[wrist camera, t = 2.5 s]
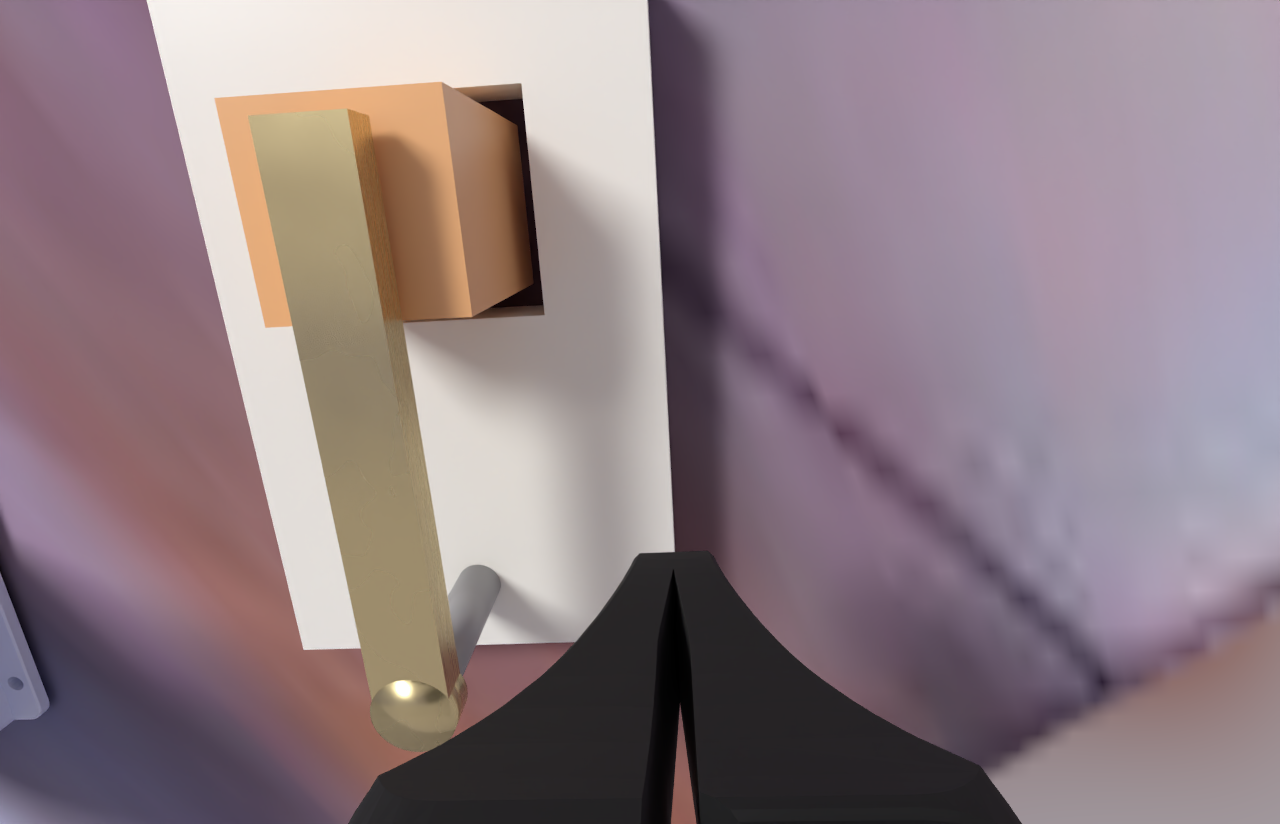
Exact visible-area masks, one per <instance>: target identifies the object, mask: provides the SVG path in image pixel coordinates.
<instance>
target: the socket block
mask: <svg viewBox="0 0 1280 824" xmlns="http://www.w3.org/2000/svg"><path fill="white" fill-rule="evenodd" d="M147 3H148V7H149V11H150V16H151V20H152V24H153V28H154V32H155V36H156V40H157V45H158V49H159V53H160V57H161V61H162V65H163V69H164V74H165V78H166V82H167V86H168V90H169V94H170V98H171V103H172V107H173V111H174V115H175V119H176V123H177V127H178V132H179V136H180V140H181V144H182V148H183V152H184V156H185V160H186V165H187V169H188V173H189V177H190V181H191V185H192V189H193V194H194V198H195V202H196V206H197V210H198V214H199V218H200V223H201V227H202V231H203V235H204V239H205V243H206V247H207V252H208V256H209V260H210V264H211V268H212V272H213V276H214V281H215V285H216V289H217V293H218V297H219V301H220V305H221V310H222V314H223V318H224V322H225V326H226V330H227V334H228V339H229V343H230V347H231V351H232V355H233V359H234V363H235V367H236V372H237V376H238V380H239V384H240V388H241V392H242V396H243V401H244V405H245V409H246V413H247V417H248V421H249V425H250V430H251V434H252V438H253V442H254V446H255V450H256V454H257V459H258V463H259V467H260V471H261V475H262V479H263V483H264V488H265V492H266V496H267V500H268V504H269V508H270V512H271V517H272V521H273V525H274V529H275V533H276V537H277V541H278V546H279V550H280V554H281V558H282V562H283V566H284V570H285V574H286V579H287V583H288V587H289V591H290V595H291V599H292V603H293V608H294V612H295V616H296V620H297V624H298V628H299V632H300V637H301V641H302V645H303V649H304V650H313V649H348V648H361V647H360V642H359V638H358V633H357V628H356V623H355V619H354V614H353V609H352V605H351V600H350V595H349V590H348V586H347V581H346V576H345V572H344V567H343V562H342V557H341V553H340V548H339V543H338V539H337V534H336V529H335V524H334V520H333V515H332V510H331V506H330V501H329V496H328V491H327V487H326V482H325V477H324V473H323V468H322V463H321V458H320V454H319V449H318V444H317V440H316V435H315V430H314V425H313V421H312V416H311V411H310V407H309V402H308V397H307V392H306V388H305V383H304V378H303V374H302V369H301V364H300V359H299V355H298V350H297V345H296V341H295V336H294V331H293V326H289V327H270V328H265V324H264V319H263V315H262V310H261V306H260V301H259V297H258V292H257V288H256V283H255V279H254V274H253V270H252V265H251V261H250V256H249V252H248V247H247V243H246V238H245V234H244V229H243V225H242V220H241V216H240V211H239V207H238V202H237V198H236V193H235V189H234V184H233V180H232V175H231V171H230V166H229V162H228V157H227V153H226V148H225V144H224V139H223V135H222V130H221V126H220V121H219V117H218V112H217V108H216V103H215V99H214V98H221V97H235V96H249V95H263V94H277V93H290V92H304V91H318V90H332V89H346V88H360V87H374V86H388V85H402V84H416V83H429V82H443V83H445V84H446V85H448V86H450V87H452V88H453V89H455V90H457V91H459V92H460V93H462V94H464V95H466V96H467V97H469V98H471V99H473V100H474V101H476V102H485V101H499V100H513V99H523V105H524V115H525V125H526V135H527V145H528V154H529V164H530V174H531V184H532V194H533V204H534V214H535V224H536V234H537V244H538V254H539V264H540V273H541V283H542V293H543V303H544V305H537V306H518V307H500V308H488V309H486V310H484V311H482V312H480V313H479V314H477V315H475V316H473V317H460V318H441V319H422V320H403V327H404V333H405V339H406V345H407V351H408V357H409V364H410V370H411V376H412V382H413V388H414V394H415V400H416V406H417V413H418V419H419V425H420V431H421V437H422V443H423V449H424V455H425V461H426V468H427V474H428V480H429V486H430V492H431V498H432V504H433V510H434V517H435V523H436V529H437V535H438V541H439V547H440V553H441V559H442V566H443V572H444V578H445V584H446V590H447V596H448V602H449V608H450V614H451V621H452V627H453V633H454V639H455V645H456V651H457V657H458V663H459V670H460V674H461V675H462V676H463V674H464V672H465V670H466V667H467V665H468V663H469V660H470V658H471V656H472V653H473V651H474V649H475V647H476V645H490V644H526V643H561V642H576V641H577V640H578V638H579V637H580V636H581V635H582V634H583V632H584V631H585V630H586V629H587V628H588V626H589V625H590V624H591V623H592V622H593V620H594V619H595V618H596V617H597V615H598V614H599V613H600V612H601V610H602V609H603V607H604V606H605V605H606V603H607V602H608V600H609V599H610V598H611V596H612V595H613V593H614V592H615V590H616V589H617V587H618V586H619V584H620V583H621V581H622V580H623V578H624V576H625V575H626V573H627V571H628V569H629V568H630V566H631V564H632V562H633V560H634V558H635V557H636V556H637V555H638V554H639V553H660V552H675V539H674V518H673V498H672V477H671V457H670V436H669V416H668V395H667V375H666V355H665V334H664V314H663V293H662V273H661V252H660V232H659V211H658V191H657V171H656V150H655V130H654V109H653V89H652V68H651V48H650V27H649V7H648V0H147Z"/></svg>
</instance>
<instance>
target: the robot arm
mask: <svg viewBox="0 0 1280 824" xmlns="http://www.w3.org/2000/svg"><path fill="white" fill-rule="evenodd" d="M680 705H681V713H682V720H683V727H684V735H685V742H686V749H687V757H688V764H689V771H690V779H691V786H692V793H693V800H694V808H695V815H696V823H697V824H1022V823H1021V822H1020V821H1019V819H1018V817H1017V816H1016V815H1015V813H1014V812H1013V810H1012V809H1011V807H1010V806H1009V804H1008V803H1007V802H1006V800H1005V799H1004V798H1003V796H1002V795H1001V794H1000V792H999V791H998V790H997V788H996V787H995V786H994V784H993V783H992V782H991V780H990V779H989V777H988V776H987V775H986V773H985V772H984V770H983V769H982V768H981V767H980V766H979V765H977V764H975V763H973V762H970V761H968V760H966V759H964V758H962V757H959V756H957V755H955V754H953V753H951V752H948V751H946V750H944V749H942V748H940V747H937V746H935V745H933V744H931V743H929V742H926V741H924V740H922V739H920V738H918V737H915V736H914V735H912V734H910V733H908V732H906V731H904V730H902V729H900V728H899V727H897V726H895V725H893V724H891V723H890V722H888V721H886V720H884V719H882V718H881V717H879V716H877V715H875V714H873V713H872V712H870V711H869V710H867V709H865V708H864V707H862V706H861V705H859V704H857V703H856V702H854V701H852V700H851V699H849V698H848V697H847V696H845V695H844V694H842V693H841V692H839V691H838V690H837V689H835V688H834V687H832V686H831V685H829V684H828V683H826V682H825V681H824V680H822V679H821V678H820V677H818V676H817V675H816V674H814V673H813V672H812V671H811V670H809V669H808V668H807V667H806V666H804V665H803V664H802V663H801V662H800V661H799V660H797V659H796V658H795V657H794V656H793V655H792V654H791V653H790V652H789V651H788V650H787V649H786V648H785V647H784V646H783V645H781V644H780V643H779V642H778V641H777V640H776V638H775V637H774V636H773V635H772V634H771V633H770V632H769V631H768V630H767V629H766V628H765V627H764V626H763V625H762V623H761V622H760V621H759V620H758V619H757V618H756V617H755V615H754V614H753V613H752V612H751V611H750V609H749V608H748V607H747V606H746V604H745V603H744V602H743V601H742V599H741V598H740V597H739V596H738V594H737V593H736V591H735V590H734V589H733V587H732V586H731V584H730V583H729V582H728V580H727V579H726V577H725V576H724V574H723V572H722V571H721V569H720V567H719V566H718V564H717V562H716V560H715V558H714V556H713V555H712V554H711V553H709V552H708V551H690V552H660V553H639V554H638V555H637V556H636V557H635V558H634V560H633V562H632V564H631V566H630V568H629V569H628V571H627V573H626V575H625V576H624V578H623V580H622V581H621V583H620V584H619V586H618V587H617V589H616V590H615V592H614V593H613V595H612V596H611V598H610V599H609V600H608V602H607V603H606V605H605V606H604V607H603V609H602V610H601V612H600V613H599V614H598V615H597V617H596V618H595V619H594V620H593V622H592V623H591V624H590V625H589V626H588V628H587V629H586V630H585V631H584V632H583V634H582V635H581V636H580V637H579V638H578V640H577V641H576V642H575V643H574V644H573V645H572V646H571V647H570V648H569V649H568V651H567V652H566V653H565V654H564V655H563V656H562V657H561V658H560V659H559V660H558V661H557V662H556V663H555V664H554V665H553V666H552V667H550V668H549V669H548V670H547V671H546V672H545V673H544V674H543V675H542V676H541V677H540V678H538V679H537V680H536V681H534V682H533V683H532V684H531V685H529V686H528V687H527V688H525V689H524V690H523V691H522V692H520V693H519V694H518V695H517V696H515V697H514V698H513V699H511V700H510V701H509V702H508V703H506V704H505V705H504V706H502V707H501V708H499V709H498V710H496V711H495V712H493V713H492V714H490V715H489V716H487V717H486V718H484V719H483V720H481V721H480V722H478V723H477V724H475V725H473V726H472V727H470V728H468V729H467V730H465V731H464V732H462V733H460V734H459V735H457V736H455V737H454V738H452V739H450V740H448V741H446V742H445V743H443V744H441V745H439V746H437V747H435V748H433V749H431V750H429V751H428V752H426V753H424V754H422V755H420V756H418V757H416V758H414V759H412V760H410V761H408V762H406V763H404V764H402V765H400V766H398V767H396V768H394V769H392V770H390V771H388V772H385V773H383V774H381V775H379V776H378V777H377V779H376V780H375V782H374V784H373V785H372V787H371V789H370V790H369V792H368V793H367V795H366V796H365V798H364V799H363V801H362V802H361V804H360V805H359V807H358V808H357V810H356V811H355V813H354V815H353V816H352V818H351V820H350V821H349V823H348V824H671V813H672V800H673V787H674V774H675V761H676V748H677V735H678V722H679V708H680ZM49 706H50V705H49V699H48V696H47V694H46V691H45V688H44V686H43V683H42V681H41V678H40V675H39V673H38V670H37V668H36V665H35V662H34V660H33V657H32V654H31V652H30V649H29V647H28V644H27V641H26V639H25V636H24V633H23V631H22V628H21V626H20V623H19V620H18V618H17V615H16V613H15V610H14V607H13V605H12V602H11V599H10V597H9V594H8V592H7V589H6V586H5V584H4V581H3V578H2V576H1V573H0V731H1V730H2V729H3V728H5V727H6V726H7V725H8V724H10V723H11V722H12V721H13V720H32V719H37V718H38V717H39V716H41V715H42V714H43V713H44V712H45V711H47V710H48V708H49Z"/></svg>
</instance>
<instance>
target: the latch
mask: <svg viewBox="0 0 1280 824" xmlns="http://www.w3.org/2000/svg"><path fill="white" fill-rule="evenodd" d="M248 119H249V124H250V129H251V133H252V138H253V143H254V147H255V152H256V157H257V162H258V166H259V171H260V176H261V180H262V185H263V190H264V194H265V199H266V204H267V209H268V213H269V218H270V223H271V227H272V232H273V237H274V242H275V246H276V251H277V256H278V260H279V265H280V270H281V275H282V279H283V284H284V289H285V293H286V298H287V303H288V308H289V312H290V317H291V322H292V326H293V331H294V336H295V341H296V345H297V350H298V355H299V359H300V364H301V369H302V374H303V378H304V383H305V388H306V392H307V397H308V402H309V407H310V411H311V416H312V421H313V425H314V430H315V435H316V440H317V444H318V449H319V454H320V458H321V463H322V468H323V473H324V477H325V482H326V487H327V491H328V496H329V501H330V506H331V510H332V515H333V520H334V524H335V529H336V534H337V539H338V543H339V548H340V553H341V557H342V562H343V567H344V572H345V576H346V581H347V586H348V590H349V595H350V600H351V605H352V609H353V614H354V619H355V623H356V628H357V633H358V638H359V642H360V647H361V652H362V656H363V661H364V666H365V671H366V675H367V680H368V685H369V689H370V694H371V699H372V702H371V707H370V716H371V720H372V723H373V725H374V727H375V729H376V730H377V732H378V733H379V734H380V735H381V736H382V737H383V738H384V739H385V740H386V741H387V742H389V743H390V744H392V745H394V746H396V747H398V748H401V749H404V750H408V751H414V752H424V751H429V750H431V749H433V748H435V747H437V746H439V745H441V744H443V743H445V742H446V741H448V740H449V739H450V738H451V737H452V735H453V733H454V731H455V728H456V726H457V724H458V721H459V719H460V716H461V714H462V711H463V709H464V706H465V704H466V701H467V694H468V693H467V686H466V683H465V680H464V678H463V677H462V675H461V674H460V670H459V663H458V657H457V651H456V645H455V639H454V633H453V627H452V621H451V614H450V608H449V602H448V596H447V590H446V584H445V578H444V572H443V566H442V559H441V553H440V547H439V541H438V535H437V529H436V523H435V517H434V510H433V504H432V498H431V492H430V486H429V480H428V474H427V468H426V461H425V455H424V449H423V443H422V437H421V431H420V425H419V419H418V413H417V406H416V400H415V394H414V388H413V382H412V376H411V370H410V364H409V357H408V351H407V345H406V339H405V333H404V327H403V321H402V315H401V309H400V302H399V296H398V290H397V284H396V278H395V272H394V266H393V260H392V253H391V247H390V241H389V235H388V229H387V223H386V217H385V211H384V205H383V198H382V192H381V186H380V180H379V174H378V168H377V162H376V156H375V149H374V143H373V137H372V131H371V125H370V119H369V115H366V114H362V113H359V112H356V111H353V110H350V109H333V110H319V111H305V112H291V113H277V114H263V115H249V116H248Z"/></svg>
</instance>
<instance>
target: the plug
mask: <svg viewBox="0 0 1280 824" xmlns="http://www.w3.org/2000/svg"><path fill="white" fill-rule="evenodd" d="M214 99H215V103H216V108H217V112H218V117H219V121H220V126H221V130H222V135H223V139H224V144H225V148H226V153H227V157H228V162H229V166H230V171H231V175H232V180H233V184H234V189H235V193H236V198H237V202H238V207H239V211H240V216H241V220H242V225H243V229H244V234H245V238H246V243H247V247H248V252H249V256H250V261H251V265H252V270H253V274H254V279H255V283H256V288H257V292H258V297H259V301H260V306H261V310H262V315H263V319H264V324H265V328H270V327H289V326H292V322H291V317H290V312H289V308H288V303H287V298H286V293H285V289H284V284H283V279H282V275H281V270H280V265H279V260H278V256H277V251H276V246H275V242H274V237H273V232H272V227H271V223H270V218H269V213H268V209H267V204H266V199H265V194H264V190H263V185H262V180H261V176H260V171H259V166H258V162H257V157H256V152H255V147H254V143H253V138H252V133H251V129H250V124H249V119H248V116H249V115H263V114H277V113H291V112H305V111H319V110H333V109H350V110H353V111H356V112H359V113H362V114H366V115H369V119H370V125H371V131H372V137H373V143H374V149H375V156H376V162H377V168H378V174H379V180H380V186H381V192H382V198H383V205H384V211H385V217H386V223H387V229H388V235H389V241H390V247H391V253H392V260H393V266H394V272H395V278H396V284H397V290H398V296H399V302H400V309H401V315H402V321H403V320H422V319H441V318H460V317H473V316H475V315H477V314H479V313H480V312H482V311H484V310H486V309H488V308H490V307H491V306H493V305H495V304H497V303H499V302H501V301H502V300H504V299H506V298H508V297H510V296H512V295H513V294H515V293H517V292H519V291H521V290H523V289H524V288H526V287H528V286H530V285H532V284H534V281H533V271H532V262H531V252H530V242H529V232H528V223H527V213H526V203H525V193H524V184H523V174H522V164H521V154H520V145H519V135H518V125H516V124H514V123H512V122H511V121H509V120H507V119H505V118H504V117H502V116H500V115H499V114H497V113H495V112H493V111H492V110H490V109H488V108H486V107H485V106H483V105H481V104H479V103H478V102H476V101H474V100H473V99H471V98H469V97H467V96H466V95H464V94H462V93H460V92H459V91H457V90H455V89H453V88H452V87H450V86H448V85H446V84H445V83H443V82H429V83H416V84H402V85H388V86H374V87H360V88H346V89H332V90H318V91H304V92H290V93H277V94H263V95H249V96H235V97H221V98H214Z"/></svg>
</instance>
